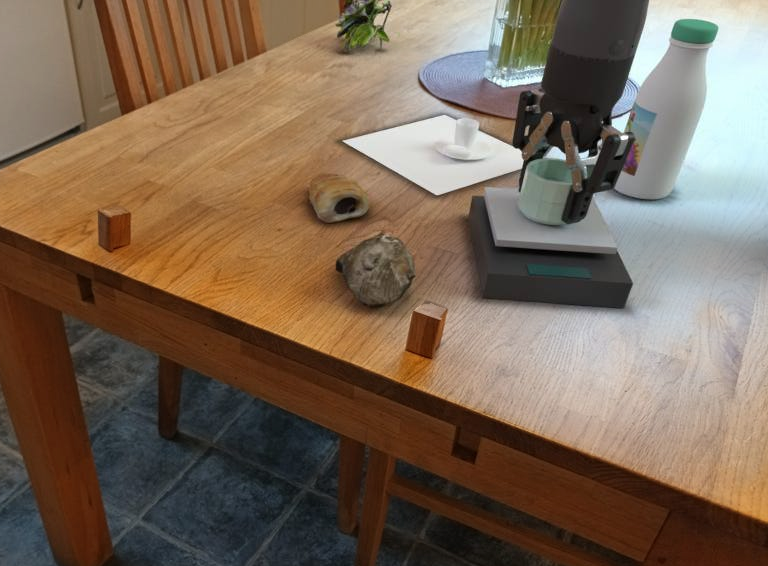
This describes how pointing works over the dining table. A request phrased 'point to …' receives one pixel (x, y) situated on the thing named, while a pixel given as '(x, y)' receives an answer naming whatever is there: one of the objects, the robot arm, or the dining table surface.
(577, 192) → the robot arm
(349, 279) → the fossilized seashell
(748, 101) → the dining table surface
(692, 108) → the milk bottle
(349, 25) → the passion flower
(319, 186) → the pastry
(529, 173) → the cup
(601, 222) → the scale
